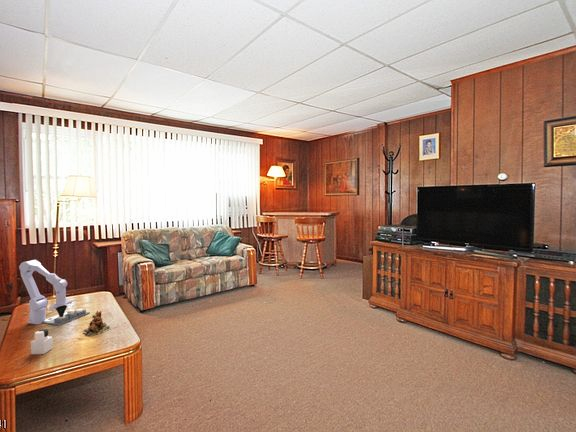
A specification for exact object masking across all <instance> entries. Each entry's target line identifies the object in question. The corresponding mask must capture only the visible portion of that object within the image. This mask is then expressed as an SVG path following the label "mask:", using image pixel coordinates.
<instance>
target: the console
mask: <svg viewBox="0 0 576 432" xmlns="http://www.w3.org/2000/svg"><path fill="white" fill-rule="evenodd" d="M73 310H74V309H73ZM86 315H90V312H89V311H87V310H86V309H83V311H81V312H76V310H74V314H73V315H67V311H65V312H64V316H65V318H62V319H58V316H59V314H58V313H57V314H55V315H53V316H50V317H46V320H44V321H43V322H42V323H41V324H44V325H53V326H61V325H64V324H66V323H69V322H72V321H74V320H76V319H79V318H82V317H84V316H86Z"/></svg>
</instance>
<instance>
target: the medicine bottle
mask: <svg viewBox="0 0 576 432" xmlns="http://www.w3.org/2000/svg"><path fill="white" fill-rule="evenodd" d="M52 349H53V336H49V329H45V328H43V329H39V330H37V331H36V330H35V332H34V339H33V340H31V341H30V354H31V355H45V354H47V352H49V351H50V350H52Z"/></svg>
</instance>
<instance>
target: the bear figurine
mask: <svg viewBox="0 0 576 432" xmlns="http://www.w3.org/2000/svg"><path fill="white" fill-rule="evenodd" d="M109 329H111V326H110V325H107V323H106V322H103V318H102V311H101V310H100V311H98V310H97V311H96V312H95V313H94V314H93V315H92V319H91V321H90V322H89V326H87V328H85V329H84V330H83V331H82V333H83V334H85V335H87V336H89V337H91V336H94V335H100V334H101V333H105V332H107V331H108V330H109Z"/></svg>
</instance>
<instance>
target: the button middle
mask: <svg viewBox="0 0 576 432" xmlns="http://www.w3.org/2000/svg"><path fill="white" fill-rule="evenodd" d="M66 312H67V315H73V314H74V309H68V310H66Z"/></svg>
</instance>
